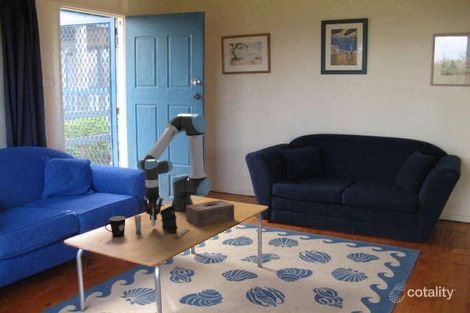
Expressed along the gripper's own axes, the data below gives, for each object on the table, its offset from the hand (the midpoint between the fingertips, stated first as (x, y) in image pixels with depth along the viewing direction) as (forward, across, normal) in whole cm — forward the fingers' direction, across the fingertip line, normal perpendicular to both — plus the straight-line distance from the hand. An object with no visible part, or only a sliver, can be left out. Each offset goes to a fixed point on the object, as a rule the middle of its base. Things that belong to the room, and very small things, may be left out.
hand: (153, 225), depth 279 cm
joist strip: (+2, +20, -6) cm, 21 cm away
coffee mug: (+2, -15, -18) cm, 23 cm away
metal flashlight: (+2, -5, -10) cm, 11 cm away
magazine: (+2, +10, -2) cm, 11 cm away
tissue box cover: (+2, +27, +24) cm, 36 cm away
